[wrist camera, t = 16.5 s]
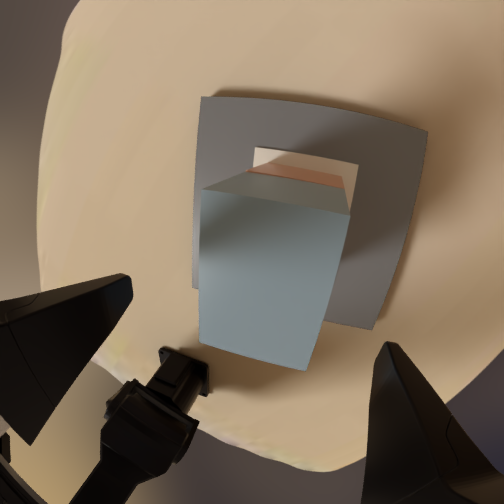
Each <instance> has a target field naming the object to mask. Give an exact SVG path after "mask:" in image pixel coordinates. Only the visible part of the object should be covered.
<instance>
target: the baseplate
mask: <svg viewBox="0 0 504 504" xmlns="http://www.w3.org/2000/svg"><path fill="white" fill-rule="evenodd" d="M427 136H428V132H427V131H424V130H421V129H418V128H415V127H411V126H408V125H405V124H401V123H398V122H394V121H391V120H387V119H383V118H379V117H375V116H371V115H367V114H362V113H358V112H353V111H348V110H343V109H338V108H332V107H327V106H321V105H314V104H307V103H300V102H292V101H283V100H273V99H260V98H244V97H201V103H200V114H199V125H198V137H197V150H196V165H195V183H194V205H193V241H192V288H195V289H199V235H200V208H201V189H203V188H206V187H208V186H210V185H213V184H215V183H218V182H220V181H223V180H225V179H228V178H230V177H233V176H236V175H238V174H241V173H243V172H246V170H248V169H251V168H253V167H256V166H259V165H262V164H265V163H268V162H269V163H275V164H281V165H287V166H293V167H298V168H303V169H309V170H314V171H319V172H324V173H329V174H333V175H338V176H342V180H343V184H344V188H345V193H346V198H347V202H348V207H349V212H350V220H349V225H348V229H347V233H346V238H345V242H344V246H343V250H342V254H341V258H340V262H339V266H338V270H337V274H336V277H335V281H334V285H333V288H332V292H331V295H330V299H329V302H328V306H327V309H326V312H325V315H324V319H323V321H328V322H333V323H338V324H342V325H347V326H352V327H357V328H362V329H368V330H372V329H373V327H374V324H375V322H376V320H377V317H378V315H379V312H380V310H381V308H382V305H383V302H384V300H385V297H386V295H387V292H388V289H389V287H390V284H391V281H392V278H393V276H394V273H395V270H396V267H397V264H398V261H399V258H400V255H401V251H402V248H403V245H404V242H405V238H406V235H407V231H408V228H409V224H410V220H411V217H412V213H413V209H414V205H415V200H416V196H417V192H418V187H419V183H420V178H421V173H422V167H423V162H424V156H425V150H426V143H427Z"/></svg>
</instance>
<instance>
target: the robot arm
mask: <svg viewBox="0 0 504 504" xmlns="http://www.w3.org/2000/svg"><path fill="white" fill-rule="evenodd" d="M132 299H133V288H132V281H131V278H130V276H128V275H125V274H122V273H119V274H115V275H111V276H106V277H102V278H98V279H94V280H90V281H86V282H81V283H77V284H73V285H69V286H65V287H61V288H57V289H53V290H49V291H45V292H41V293H37V294H33V295H29V296H24V297H20V298H15V299H10V300H4V301H0V504H48V503H47V502H45V501H44V500H43V499H42V498H41V497H40V496H39V495H38V494H37V493H36V492H35V491H34V490H33V489H32V488H31V487H30V486H29V485H28V484H27V483H26V482H25V481H24V480H23V479H22V478H21V477H20V476H19V475H18V474H17V473H16V471H14V469H13V468H12V467H11V466H10V465H9V463H10V462H11V456H10V436H9V435H8V434H7V432H6V431H7V430H8V429H9V427H11V428H12V429H13V430H14V431H15V432H16V433H17V434H18V435H19V436H20V437H21V438H22V439H23V440H24V441H25V442H26V443H27V444H28V445H29V446H31V445H32V443H33V442H34V440H35V439H36V437H37V436H38V434H39V432H40V431H41V429H42V428H43V426H44V425H45V423H46V422H47V420H48V419H49V417H50V416H51V414H52V413H53V411H54V410H55V407H57V405H58V404H59V402H60V401H61V399H62V398H63V396H64V395H65V394H66V392H67V391H68V389H69V388H70V387H71V385H72V384H73V382H74V381H75V380H76V378H77V377H78V375H79V374H80V373H81V371H82V370H83V369H84V367H85V366H86V365H87V363H88V362H89V361H90V359H91V358H92V357H93V355H94V354H95V353H96V351H97V350H98V349H99V347H100V346H101V345H102V344H103V342H104V341H105V340H106V338H107V337H108V336H109V335H110V333H111V332H112V331H113V329H114V328H115V326H116V325H117V323H118V321H119V320H120V318H121V317H122V315H123V314H124V312H125V311H126V309H127V307H128V306H129V304H130V303H131V301H132ZM158 352H159V357H160V363H161V366H160V367H159V368H158V370H157V371H156V372H155V374H154V375H153V377H152V378H151V379H150V381H149V382H148V383H147V385H146V386H143V385H142V384H141V383H139V382H138V380H137V379H135V378H134V379H133V381H131V382H130V381H127V382H126V383H125V384H124V385H123V387H122V388H121V389H120V390H119V391H118V392H117V393H116V394H114V395H113V396H112V397H111V398H110V399H108V401H107V402H106V407H107V409H106V413H105V415H104V418H105V419H106V420H107V422H106V423H105V425H104V426H103V428H102V429H101V438H100V439H101V440H100V461H99V463H98V464H97V465H96V467H95V468H94V469H93V471H92V472H91V474H90V475H89V476H88V478H87V479H86V481H85V482H84V483H83V485H82V486H81V487H80V489H79V490H78V492H77V493H76V494H75V496H74V497H73V499H72V500H71V501H70V503H69V504H125V502H126V501H127V500H128V498H129V497H130V495H131V494H132V492H133V491H134V489H135V488H136V486H137V485H138V484H140V483H143V482H145V481H148V480H150V479H152V478H155V477H158V476H160V475H162V474H164V473H166V472H167V470H168V469H169V467H170V466H171V464H172V463H173V464H177V463H178V462H179V461H180V460H181V459H182V457H183V456H184V454H185V453H186V451H187V450H188V448H189V446H190V444H191V441H192V439H193V436H194V434H195V432H196V429H197V427H198V424H199V422H200V421H198V420H196V419H193V418H192V417H190V416H188V415H187V414H188V412H189V410H190V408H191V407H192V405H193V403H194V402H195V400H196V398H197V396H198V395H201V396H204V397H207V396H208V394H209V373H208V365H207V364H205V363H203V362H200V361H197V360H194V359H191V358H189V357H186V356H183V355H180V354H178V353H175V352H172V351H170V350H167V349H165V348H160V349H159V351H158ZM361 504H504V475H503V474H502V473H500V472H499V471H498V470H496V469H495V468H494V466H493V465H492V464H491V463H490V461H489V460H488V459H487V458H486V457H485V456H484V454H483V453H482V452H481V451H480V450H479V448H478V447H477V446H476V445H475V443H474V442H473V441H472V440H471V438H470V437H469V436H468V435H467V433H466V432H465V431H464V429H463V428H462V427H461V425H460V424H459V423H458V422H457V420H456V419H455V417H454V416H453V415H452V413H451V412H450V410H449V409H448V408H447V406H446V405H445V404H444V402H443V401H442V399H441V398H440V397H439V395H438V394H437V393H436V392H435V390H434V389H433V388H432V386H431V385H430V384H429V382H428V381H427V380H426V378H425V377H424V376H423V375H422V373H421V372H420V371H419V369H418V368H417V367H416V366H415V364H414V363H413V362H412V361H411V359H410V358H409V357H408V356H407V354H406V353H405V352H404V351H403V349H402V348H401V347H400V346H399V345H398V344H397V343H395V342H389V341H386V342H385V343H384V344H383V346H382V348H381V350H380V352H379V354H378V356H377V358H376V360H375V362H374V368H373V378H372V387H371V395H370V403H369V422H368V441H367V454H366V466H365V475H364V483H363V491H362V498H361Z"/></svg>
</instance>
